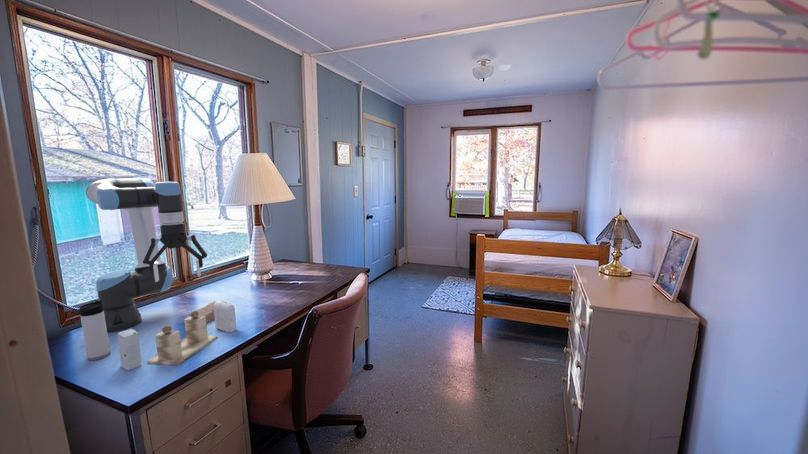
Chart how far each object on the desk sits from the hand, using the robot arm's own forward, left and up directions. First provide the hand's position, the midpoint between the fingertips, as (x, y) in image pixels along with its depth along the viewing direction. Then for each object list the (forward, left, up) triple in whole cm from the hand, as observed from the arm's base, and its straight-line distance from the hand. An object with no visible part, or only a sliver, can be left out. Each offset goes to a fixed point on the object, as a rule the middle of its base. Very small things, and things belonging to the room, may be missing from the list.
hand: (178, 278), depth 130 cm
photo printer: (+8, +12, -26) cm, 30 cm away
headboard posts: (+4, -6, -26) cm, 27 cm away
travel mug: (-24, -14, -26) cm, 38 cm away
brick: (-8, +23, -26) cm, 36 cm away
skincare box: (-6, -18, -26) cm, 32 cm away
